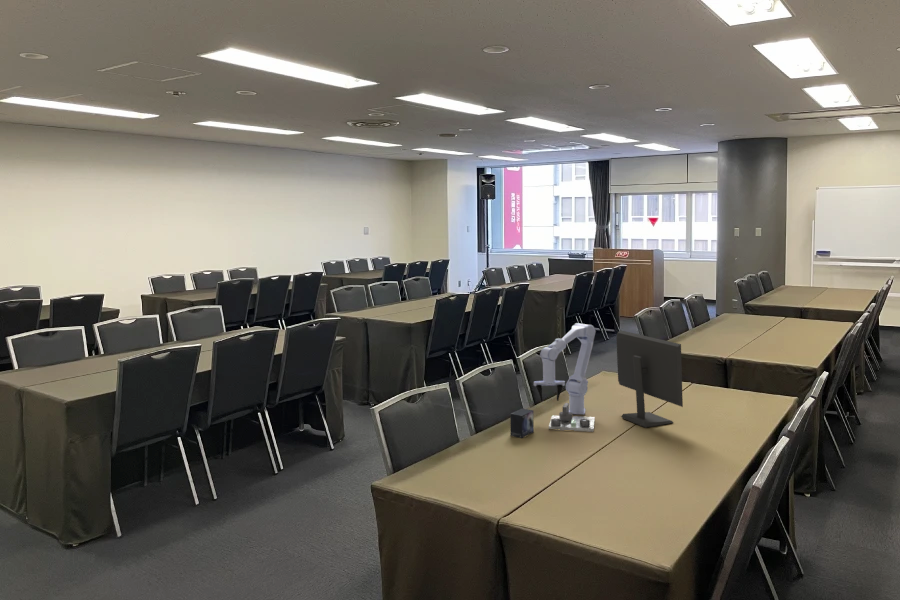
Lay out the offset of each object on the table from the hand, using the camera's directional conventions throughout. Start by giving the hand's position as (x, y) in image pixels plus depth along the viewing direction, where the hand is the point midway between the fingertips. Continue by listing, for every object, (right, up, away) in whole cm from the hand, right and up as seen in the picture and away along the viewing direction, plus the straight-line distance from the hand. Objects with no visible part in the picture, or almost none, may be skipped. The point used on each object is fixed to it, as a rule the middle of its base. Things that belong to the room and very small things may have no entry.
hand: (549, 400), depth 321 cm
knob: (+8, -8, -3) cm, 11 cm away
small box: (-15, -13, -20) cm, 28 cm away
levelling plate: (+9, -10, -8) cm, 16 cm away
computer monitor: (+45, -9, -6) cm, 46 cm away
